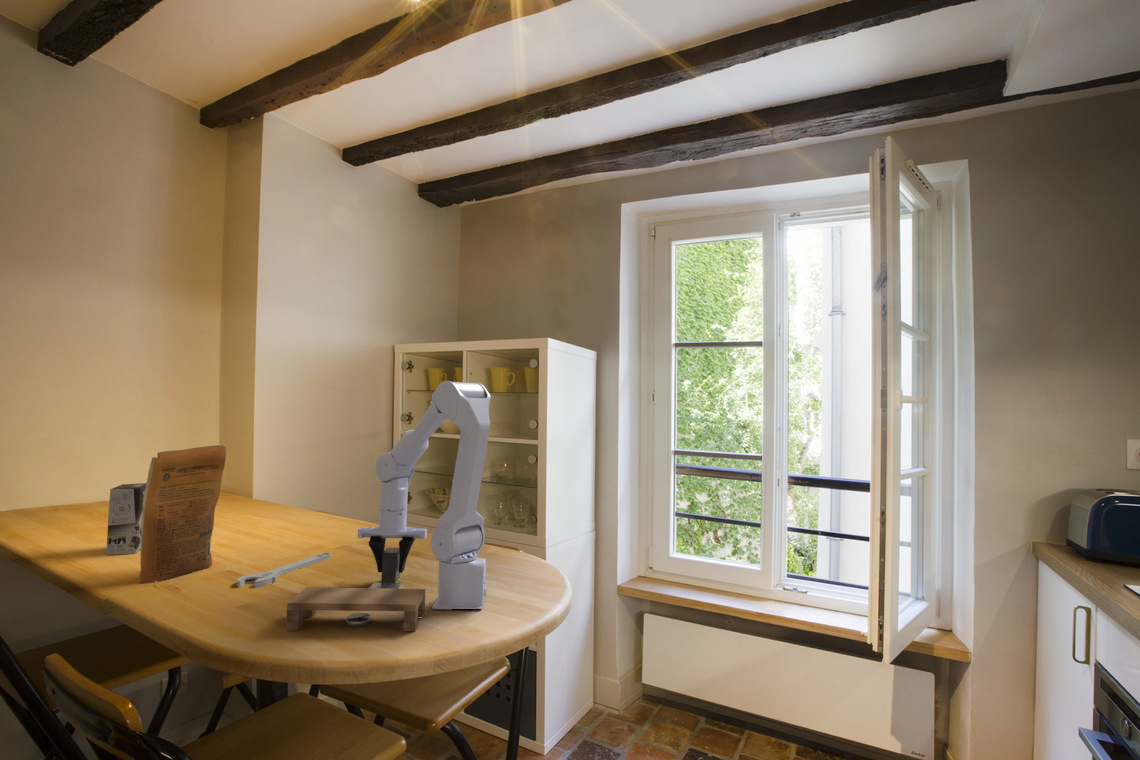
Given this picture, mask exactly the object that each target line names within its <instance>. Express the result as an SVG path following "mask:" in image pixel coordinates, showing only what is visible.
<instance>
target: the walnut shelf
mask: <svg viewBox="0 0 1140 760" xmlns="http://www.w3.org/2000/svg"><path fill="white" fill-rule="evenodd" d="M425 609H426V588H400V589H383V588H370V587H368V588H367V587H364V588H363V587H362V588H361V587H309V586H308V587H305V588H304V589H303V590H301V591H300V592H299V593H297V594H296V595H295V596H293V598H291V599H290V600H289V601H288V602H287V603H286V616H285V617H286V618H285V619H286V620H285V631H287V632H288V631H290V632H291V631H292V632H294V631H297V632H298V631H299V630H300V629H301V628H303V623H304V618H313V617H314V616H315V615H316V614H317V611H341V612H342V611H343V612H344V611H346V612H347V611H349V612H350V611H353V612H403V629H402V630H403V632H404V631H415V630H417V629H418V627H417V626H419V625H418V624H419V623H418V622H419V618H418V617H424V616H425V614H424V613H425ZM423 615H424V616H423ZM416 628H417V629H416ZM415 632H416V631H415ZM404 633H405V632H404Z"/></svg>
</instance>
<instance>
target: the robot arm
mask: <svg viewBox="0 0 1140 760" xmlns="http://www.w3.org/2000/svg"><path fill="white" fill-rule="evenodd" d="M491 399H492V396H491V394H490V393H489V391H488V390H487V388H486V386H484V385H483V383H481V382H459V381H450V380H443V381H442V382H440V383H439V384H438V385H437V387H436V389H435V390H434V391H433V392H432V393H431V403H430V405H429V406H428V408H427V410H426V411H425V413H424V415H423V416H422V417H421V418H420V421H419V422H418V423H417V425H416V426H415V428H414V429H408V430H407V431H404V432H403V433H402V435H401V436H402V437H401V438H400V439H399V441H398V442H397V443H396V444H395V446H394V447H392V449H391V450H390V451H389V452H387V453H383V454H381V455H379V457H378V459H377V460H376V462H375V474H376V476H377V478H378V479H379V480H380V502H379V522H378V523H379V524H378V525H379V526H368V527H367V526H365V527H363V526H362V527H359V528H358V529H357V539H363V538H367V539H368V538H369V541H368V546H369V547H370V551H372V552H371V553H372V554H373V557H374V560H375V563H376V568H377V573H382V553H383V552H384V551H385V550H386V549H385V548H386V539H400V540H399V541H398V548H399V553H400V560H399V573H400V574H401V573H403V572H404V571H405V568H406V567H405V566H406V562H407V559H408V556H409V553H410V551H411V549H412V547H413V544H414V542H415V541H416V539H419V540H426V539H427V537H428V536H427V534H428V529H427V528H421V527H411V526H407V524H408V523H407V520H408V519H407V518H408V517H407V516H408V498H409V497H408V493H409V491H408V489H409V487H410V485H411V479H412V477H413V475H414V474H415V471H416V470H415V469H416V467H415V466H414V465H416V463H417V462H418V461H419V460H420V458H421V457H422V455H423V454H424V453H425V452H426V451H427V450H428V448H429V446H430V445H429V439H430V438H431V437H432V435H433V434H435V432H436V431H437V430H438V429H439V428H440V427H441V426H442V424H443V423H445V421H446V420H447V419H448V420H449V421H450V422H452V423H453V424H454V425H456V426H457V428H458V429H459V431H460V436H459V443H458V448H457V452H456V453H457V455H456V460H455V466H454V472H453V478H452V484H451V491H450V496H449V503H448V508H447V509H446V511H445V512H444V513H442V515H441V516H440V517H439V518H438V519H437V524H436V526H435V529H434V531H433V532H432V535H431V538H430V547H431V551H432V553H433V555H434V557H436V558H435V559H436V560H438V581H437V583H438V584H437V597H436V599H435V600H434V601H435V602H434V603H433V604H432V609H433V610H452V609H481V610H483V607H484V604H485V600H486V597H487V559H486V558H483V557H479V551H480V550H481V549H482V548H483V546H484V545H485V540H486V537H485V536H486V535H485V530H484V527H485V526H484V525H485V519H484V518H483V516H482V515H481V514H480V513H479V512H478V511H477V509H478V503H479V497H480V490H481V484H482V478H483V472H484V467H485V466H484V465H485V462H486V461H485V460H486V455H487V449H488V448H487V447H488V442H489V437H490V429H491V419H490V411H489V410H490V407H491V406H490V405H491ZM484 599H485V600H484ZM483 603H484V604H483ZM482 606H483V607H482Z"/></svg>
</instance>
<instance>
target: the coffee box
mask: <svg viewBox="0 0 1140 760" xmlns="http://www.w3.org/2000/svg"><path fill="white" fill-rule="evenodd" d="M146 483H147V482H145V483H144V482H143V483H129V484H128V483H125V484H124V483H123V484H119V485H117V486H115V487H113V488H110V489H109V490H110V491H109V501H108V503H109V505H108V516H107V517H108V519H107V531H106V532H107V535H106V549H105V551H106V552H105V555H106V556H110V555H111V554H116V555H133V554H132V553H135V554H137V553H138V552H141V526H142V511H143V498H144V493H145V487H146Z"/></svg>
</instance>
